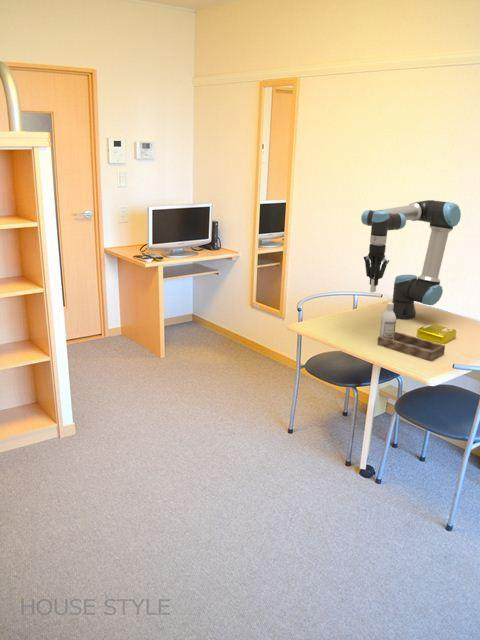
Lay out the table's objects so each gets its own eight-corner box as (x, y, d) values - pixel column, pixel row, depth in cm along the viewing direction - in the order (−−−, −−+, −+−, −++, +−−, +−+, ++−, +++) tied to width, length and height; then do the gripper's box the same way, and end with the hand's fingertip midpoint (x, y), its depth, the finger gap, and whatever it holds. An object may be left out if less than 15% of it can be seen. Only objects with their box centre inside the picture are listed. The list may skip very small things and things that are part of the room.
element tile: (429, 330, 283) (430, 321, 282) (456, 338, 273) (458, 329, 272) (414, 337, 273) (415, 328, 272) (443, 345, 263) (444, 336, 262)
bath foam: (396, 343, 264) (401, 304, 257) (385, 345, 261) (389, 306, 254) (387, 338, 270) (391, 300, 263) (376, 340, 267) (380, 302, 260)
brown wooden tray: (377, 344, 262) (378, 337, 260) (391, 338, 270) (392, 330, 269) (431, 361, 243) (432, 352, 242) (443, 353, 252) (445, 345, 251)
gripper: (361, 242, 258) (357, 290, 266) (385, 246, 250) (380, 295, 257) (370, 241, 263) (365, 287, 271) (394, 245, 255) (388, 293, 262)
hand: (372, 291), depth 264 cm, fingers closed
